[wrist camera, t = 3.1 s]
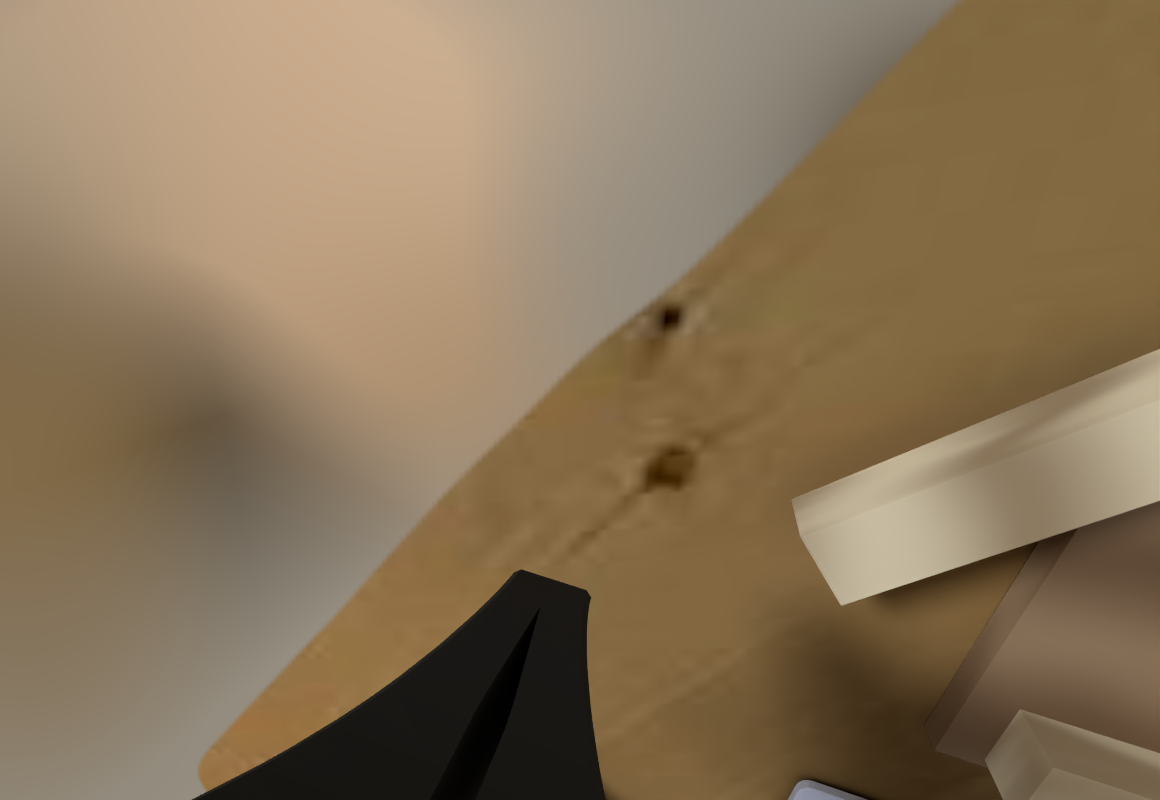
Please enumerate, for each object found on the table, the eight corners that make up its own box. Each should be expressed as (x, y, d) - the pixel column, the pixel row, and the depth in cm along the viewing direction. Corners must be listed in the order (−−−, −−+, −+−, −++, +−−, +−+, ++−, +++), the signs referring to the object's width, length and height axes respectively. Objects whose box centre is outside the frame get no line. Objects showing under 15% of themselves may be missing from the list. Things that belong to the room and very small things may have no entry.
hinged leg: (1329, 279, 13) (1443, 297, 11) (1360, 370, 13) (1475, 404, 11) (791, 499, 17) (801, 541, 15) (827, 561, 18) (842, 610, 16)
